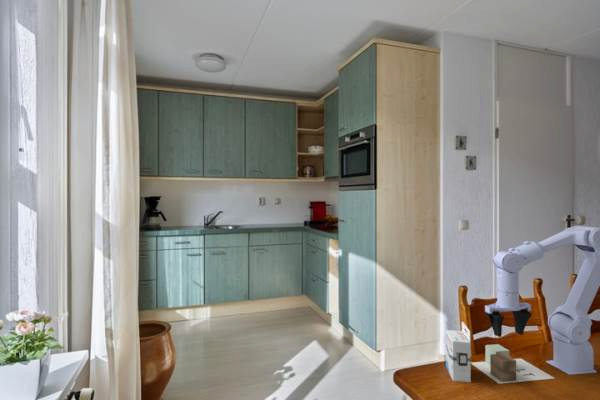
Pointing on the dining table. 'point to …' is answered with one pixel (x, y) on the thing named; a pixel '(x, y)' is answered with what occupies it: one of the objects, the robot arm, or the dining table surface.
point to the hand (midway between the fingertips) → (508, 334)
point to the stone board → (522, 372)
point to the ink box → (459, 354)
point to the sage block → (494, 351)
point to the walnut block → (503, 367)
